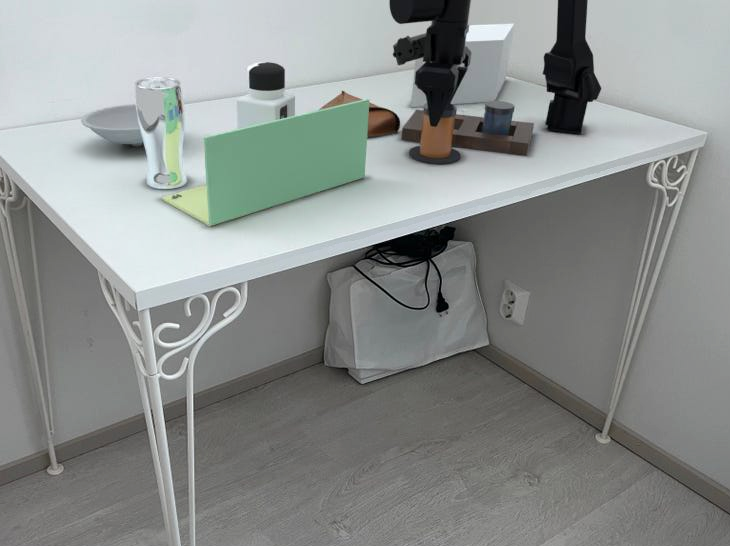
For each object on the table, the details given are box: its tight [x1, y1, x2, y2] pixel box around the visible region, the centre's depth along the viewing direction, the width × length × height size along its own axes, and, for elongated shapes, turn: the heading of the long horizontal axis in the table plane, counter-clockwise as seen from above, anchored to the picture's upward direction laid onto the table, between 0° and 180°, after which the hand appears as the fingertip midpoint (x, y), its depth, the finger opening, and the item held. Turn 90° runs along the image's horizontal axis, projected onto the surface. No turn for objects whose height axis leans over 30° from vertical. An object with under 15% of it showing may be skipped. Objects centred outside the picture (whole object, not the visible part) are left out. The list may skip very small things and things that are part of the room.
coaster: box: [408, 145, 462, 165], centre depth 130 cm, size 9×9×1 cm
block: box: [410, 23, 515, 108], centre depth 161 cm, size 18×35×12 cm, turn 135°
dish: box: [80, 103, 143, 147], centre depth 129 cm, size 18×14×5 cm
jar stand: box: [400, 109, 535, 156], centre depth 138 cm, size 23×13×2 cm, turn 72°
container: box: [236, 61, 296, 129], centre depth 131 cm, size 8×8×13 cm
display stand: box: [161, 98, 370, 227], centre depth 112 cm, size 30×12×12 cm, turn 132°
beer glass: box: [134, 76, 188, 190], centre depth 112 cm, size 7×7×15 cm
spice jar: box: [482, 100, 516, 136], centre depth 136 cm, size 5×5×6 cm
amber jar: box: [419, 103, 458, 158], centre depth 128 cm, size 6×6×8 cm
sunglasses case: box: [316, 90, 401, 138], centre depth 143 cm, size 18×7×7 cm, turn 36°
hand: (438, 118), depth 126 cm, fingers open, 9 cm apart
